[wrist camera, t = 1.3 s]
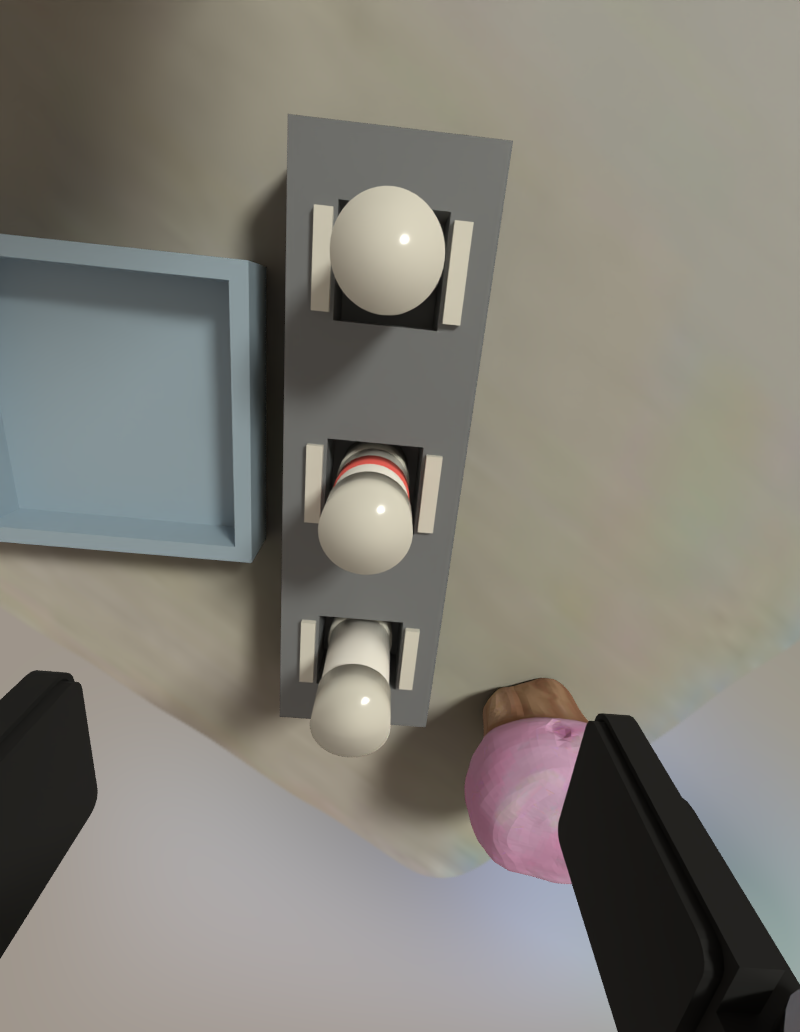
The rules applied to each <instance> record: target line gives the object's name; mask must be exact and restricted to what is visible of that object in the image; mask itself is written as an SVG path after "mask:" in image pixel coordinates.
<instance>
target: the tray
mask: <svg viewBox="0 0 800 1032" xmlns="http://www.w3.org/2000/svg"><path fill="white" fill-rule="evenodd" d="M265 540H266V267H265V266H262V265H260V264H257V263H254V262H251V261H249V260H240V259H231V258H221V257H212V256H203V255H193V254H184V253H175V252H166V251H156V250H147V249H138V248H128V247H119V246H110V245H100V244H91V243H82V242H72V241H63V240H54V239H45V238H35V237H26V236H17V235H7V234H0V542H10V543H22V544H33V545H45V546H57V547H69V548H81V549H93V550H105V551H116V552H128V553H140V554H152V555H164V556H176V557H187V558H199V559H211V560H223V561H235V562H247V563H252V562H253V560H254V558H255V556H256V555H257V553H258V551H259V550H260V548H261V546H262V545H263V543H264V541H265Z"/></svg>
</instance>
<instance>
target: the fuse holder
mask: <svg viewBox="0 0 800 1032" xmlns="http://www.w3.org/2000/svg"><path fill="white" fill-rule="evenodd" d="M512 144H513V141H511V140H502V139H494V138H485V137H477V136H469V135H460V134H452V133H443V132H435V131H427V130H418V129H410V128H401V127H393V126H385V125H376V124H368V123H359V122H351V121H342V120H334V119H326V118H317V117H309V116H300V115H292V114H288V137H287V212H286V287H285V361H284V436H283V511H282V586H281V661H280V717H293V718H306V719H311V716H312V711H313V706H314V702H315V697H316V692H317V688H318V684H319V682H320V680H321V679H322V675H323V670H324V665H325V660H326V656H327V651H328V646H329V645H328V637H329V632H330V628H331V623H332V618H333V617H341V618H353V619H366V620H378V621H391V622H392V646H391V650H390V664H389V686H390V689H391V720H390V725H402V726H416V727H426V722H427V716H428V709H429V702H430V696H431V689H432V682H433V675H434V669H435V662H436V655H437V648H438V642H439V635H440V628H441V622H442V615H443V608H444V601H445V595H446V588H447V581H448V575H449V568H450V561H451V554H452V548H453V541H454V534H455V527H456V521H457V514H458V507H459V501H460V494H461V487H462V480H463V474H464V467H465V460H466V454H467V447H468V440H469V433H470V427H471V420H472V413H473V406H474V400H475V393H476V386H477V380H478V373H479V366H480V359H481V353H482V346H483V339H484V333H485V326H486V319H487V312H488V306H489V299H490V292H491V285H492V279H493V272H494V265H495V259H496V252H497V245H498V238H499V232H500V225H501V218H502V212H503V205H504V198H505V191H506V185H507V178H508V171H509V164H510V158H511V151H512ZM379 186H395V187H400V188H403V189H406V190H409V191H410V192H412V193H414V194H416V195H417V196H419V197H420V198H421V199H422V200H424V201H425V202H426V203H427V204H428V206H429V207H430V208H431V209H432V211H433V212H434V214H435V215H436V217H437V219H438V221H439V223H440V226H441V229H442V232H443V236H444V242H445V261H444V266H443V270H442V274H441V276H440V279H439V281H438V283H437V285H436V287H435V288H434V290H433V291H432V293H431V294H430V295H429V296H428V297H427V298H426V299H425V300H424V301H423V302H422V303H421V304H420V305H418V306H417V307H415V308H413V309H412V310H410V311H407V312H405V313H403V314H399V315H380V314H375V313H371V312H368V311H366V310H364V309H362V308H360V307H359V306H357V305H356V304H355V303H353V302H352V301H351V300H350V299H349V298H348V297H347V296H346V295H345V294H344V292H343V291H342V289H341V288H340V286H339V284H338V283H337V281H336V278H335V276H334V273H333V270H332V266H331V261H330V238H331V234H332V230H333V227H334V224H335V221H336V219H337V217H338V216H339V214H340V212H341V211H342V209H343V208H344V207H345V206H346V204H347V203H348V202H349V201H350V200H352V199H353V198H354V197H355V196H357V195H358V194H360V193H361V192H363V191H365V190H368V189H370V188H374V187H379ZM357 441H360V442H370V443H381V444H392V445H398V446H399V447H400V448H401V450H402V451H403V452H404V454H405V456H406V459H407V462H408V468H409V500H410V504H411V512H412V526H413V537H412V543H411V545H410V548H409V550H408V552H407V554H406V555H405V557H404V558H403V559H402V560H401V561H400V562H399V563H398V564H397V565H396V566H394V567H392V568H391V569H389V570H387V571H384V572H381V573H378V574H371V575H361V574H355V573H351V572H349V571H346V570H344V569H342V568H340V567H339V566H337V565H336V564H334V563H333V562H332V561H331V560H330V559H329V558H328V556H327V555H326V554H325V552H324V551H323V549H322V547H321V544H320V541H319V536H318V525H319V520H320V517H321V514H322V511H323V509H324V506H325V504H326V501H327V498H328V496H329V494H330V492H331V490H332V489H333V486H334V483H335V481H336V478H337V474H338V470H339V467H340V465H341V462H342V459H343V457H344V455H345V453H346V451H347V450H348V449H349V447H350V446H351V445H352V444H354V443H355V442H357Z"/></svg>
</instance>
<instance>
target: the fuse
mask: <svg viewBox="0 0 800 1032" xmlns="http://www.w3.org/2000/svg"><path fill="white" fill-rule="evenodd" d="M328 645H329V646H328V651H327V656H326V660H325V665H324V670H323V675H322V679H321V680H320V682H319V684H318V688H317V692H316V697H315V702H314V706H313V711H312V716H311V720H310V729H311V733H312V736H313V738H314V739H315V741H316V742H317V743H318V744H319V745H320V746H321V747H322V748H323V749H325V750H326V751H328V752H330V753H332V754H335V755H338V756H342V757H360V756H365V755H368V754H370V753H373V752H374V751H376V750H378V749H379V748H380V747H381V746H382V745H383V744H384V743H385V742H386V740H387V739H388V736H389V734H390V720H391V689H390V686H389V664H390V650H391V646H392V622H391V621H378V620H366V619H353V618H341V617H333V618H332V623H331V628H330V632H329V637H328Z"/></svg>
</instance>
